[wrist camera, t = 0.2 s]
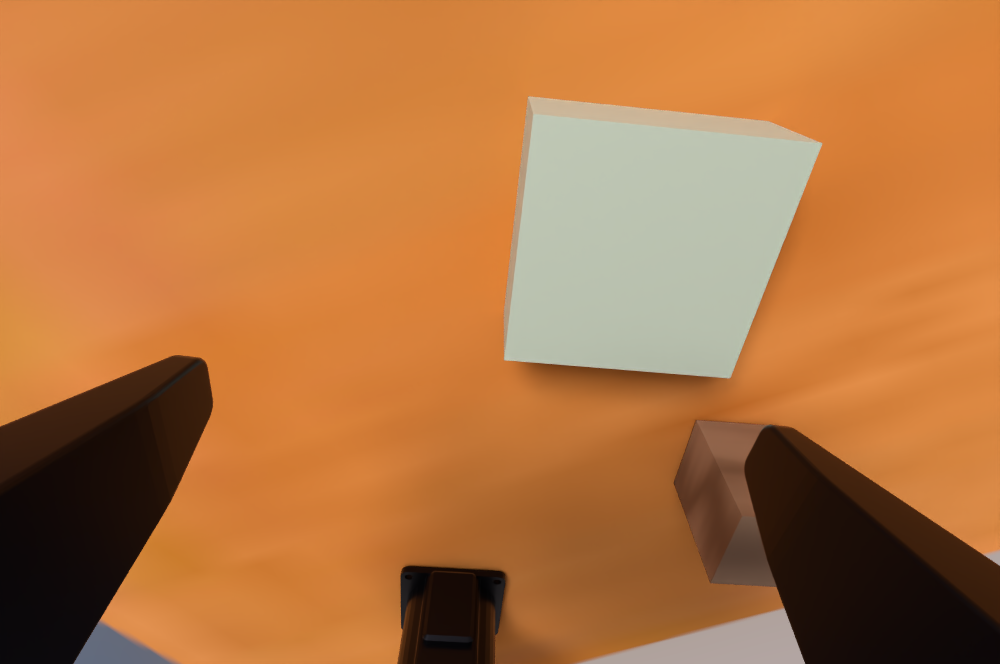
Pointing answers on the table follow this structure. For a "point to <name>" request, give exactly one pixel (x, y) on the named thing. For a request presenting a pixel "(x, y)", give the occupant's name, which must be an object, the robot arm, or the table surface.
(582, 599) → the table surface
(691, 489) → the walnut block
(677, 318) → the sage base block
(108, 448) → the robot arm
